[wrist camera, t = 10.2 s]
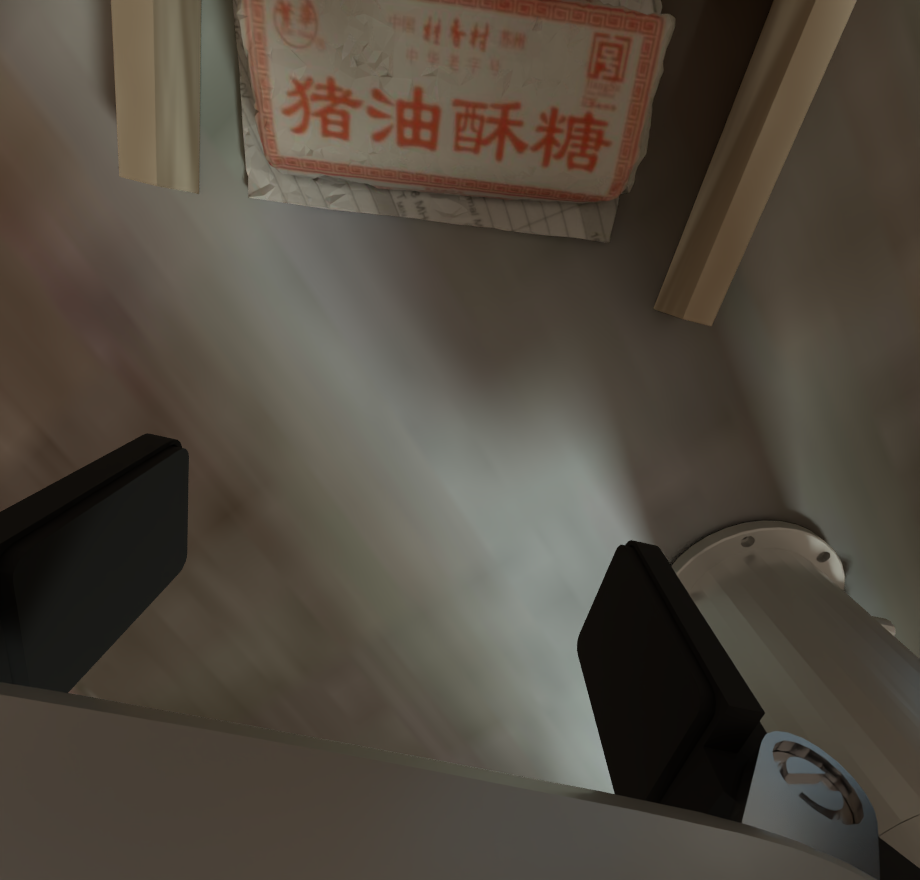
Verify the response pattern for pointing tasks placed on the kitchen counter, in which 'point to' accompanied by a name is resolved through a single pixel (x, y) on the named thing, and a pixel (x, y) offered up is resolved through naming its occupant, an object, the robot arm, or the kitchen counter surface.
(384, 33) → the packaged product
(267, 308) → the kitchen counter surface
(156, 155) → the wooden frame
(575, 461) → the kitchen counter surface
